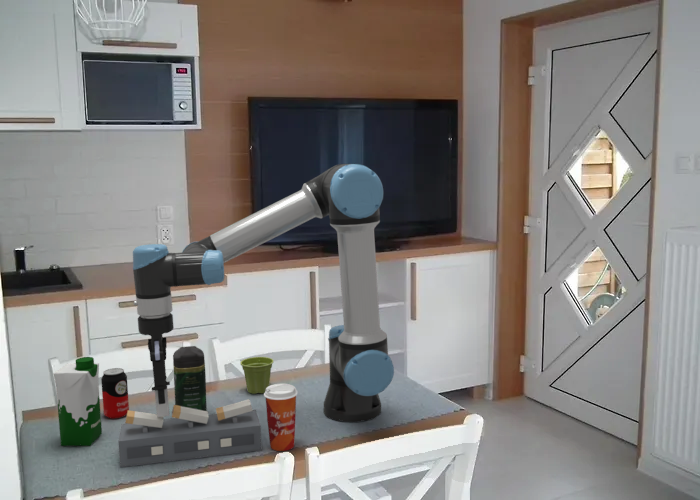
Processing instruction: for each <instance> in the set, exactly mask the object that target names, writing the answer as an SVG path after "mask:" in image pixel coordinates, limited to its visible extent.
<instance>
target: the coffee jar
mask: <svg viewBox="0 0 700 500" xmlns="http://www.w3.org/2000/svg"><path fill="white" fill-rule="evenodd" d="M172 359H173V363H172V364H173V388H174V403H175V404H174V405H178V406H182V407H187V408H192V409H197V410H203V411H208V409H207V381H206V380H207V378H206V375H207V374H206V361H205V354H204V350H202V349H201V348H199V347H197V346H196V345H190V346H180V347H179V348H178V349H176V350H175V351H174V352H173V355H172Z"/></svg>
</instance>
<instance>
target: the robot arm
mask: <svg viewBox="0 0 700 500" xmlns="http://www.w3.org/2000/svg"><path fill="white" fill-rule="evenodd" d="M383 187H384V185H383V183H382V181H381V178H380V177H379V176H378V174H377V173H376V172H375V171H374V170H372V169H370V168H369V167H368V166H366V165H363V164H361V163H360V164H359V163H355V164H354V163H339V164H336V165H334V166H332V167H330V168H328V169H326V170H325V171H324V172H322V173H321V174H319V175H317V176H316V177H313V178H311V179H310V180H308V181H307V182H305V183H303V185H302V187H301V189H300V190H298V191H296V192H294V193H292V194H290V195H288V196H286V197H284V198H282V199H280V200H278V201H276V202H274V203H272V204H270V205H268V206H266V207H264V208H262V209H260V210H258V211H256V212H254V213H252V214H250V215H248V216H246V217H244V218H242V219H239V220H238V221H236V222H234V223H232V224H230V225H229V226H226V227H223V228H222V229H220V230H219V231H216V232H215V233H212V234H210V235H209V236H207V237H204V238H202V239H201V240H198V241H192V242H190V243H189V244H187V245H186V246H185V247H184V248H183V250H182V252H170V251H169V249H168V246H167V245H166V244H162V243H161V244H160V243H157V244H156V243H154V244H151V243H149V244H143V245H142V244H141V245H138V246H136V247H135V248H134V249H133V250H132V270H133V271H132V272H133V282H134V289H135V290H134V293H135V298H136V299H135V301H133V306H135V307H136V312H137V315H138V318H137V326H138V333H140V334H141V335H143V336H150V338H148V340H147V349H148V351H149V360H150V361H151V362H152V363H151V364H152V374H153V382H154V383H153V385H154V386H151V392H153V391H154V398H155V409H156V410H155V412H156V414H157V417H169V416H170V405H169V404H170V403H169V391H168V386H170V385H171V383H170V382H171V381H167V374H166V373H167V372H166V371H167V370H166V360H167V341H168V340H167V336H166V337H163V335H164V334H168V333H170V332H172V331H174V315H173V314H172V312H173V299H172V292H171V289H172V287H175V288H176V287H184V286H185V287H186V286H187V287H188V286H202V285H207V286H211V285H213V284H220V283H223V282H224V280H225V265H224V264H225V263H227V262H229V261H232V260H233V259H235V258H237V257H239V256H241V255H243V254H245V253H247V252H248V251H250V250H253V249H254V248H257V247H259V246H260V245H263V244H264V243H267V242H268V241H270V240H273V239H274V238H275V239H276V237H279V236H281V235H282V234H285V233H286V232H288V231H290V230H292V229H295V228H296V227H298V226H301V225H302V224H304V223H306V222H308V221H310V220H312V219H314V218H318V219H323V218H326V217H328V216H329V225H330V226H331V228H333V229H334V230H335V231H336V234H337V245H338V246H337V247H338V248H337V249H338V260H339V263H338V264H339V276H340V289H341V291H340V292H341V304H342V306H341V307H342V318H343V324H341V325H340V324H339V325H337V326H333V327H331V328H330V329H329V332H328V338H327V339H328V349H329V350H328V352H329V353H328V359H329V386H328V388H327V391H326V395H325V398H324V401H323V413H324V415H325V416H326V417H327V418H329V419H332V420H335V421H337V422H344V423H345V422H347V423H357V422H366V421H370V420H373V419H374V418H377V417H379V416H380V415H381V413H382V401H381V399H380V395H379V394H380V393H382V392H383V391H385V390H386V389H387V388H388V387H389V386H390V384H391V382H392V380H393V378H394V375H395V368H394V364H393V363H394V362H393V360H392V358H391V357H390V356H389V346H388V334H387V332H385V330H383V329H381V323H380V306H379V292H378V275H377V274H378V273H377V271H378V270H377V259H376V258H377V257H376V242H375V241H376V239H375V228H376V227H377V226H378V225H379V224H380V222H381V219H380V218H381V216H380V207H381V204H382V202H383V200H384V188H383Z"/></svg>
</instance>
